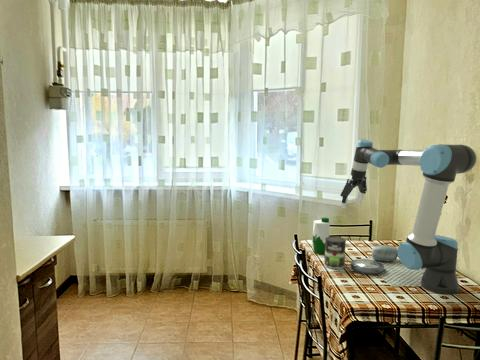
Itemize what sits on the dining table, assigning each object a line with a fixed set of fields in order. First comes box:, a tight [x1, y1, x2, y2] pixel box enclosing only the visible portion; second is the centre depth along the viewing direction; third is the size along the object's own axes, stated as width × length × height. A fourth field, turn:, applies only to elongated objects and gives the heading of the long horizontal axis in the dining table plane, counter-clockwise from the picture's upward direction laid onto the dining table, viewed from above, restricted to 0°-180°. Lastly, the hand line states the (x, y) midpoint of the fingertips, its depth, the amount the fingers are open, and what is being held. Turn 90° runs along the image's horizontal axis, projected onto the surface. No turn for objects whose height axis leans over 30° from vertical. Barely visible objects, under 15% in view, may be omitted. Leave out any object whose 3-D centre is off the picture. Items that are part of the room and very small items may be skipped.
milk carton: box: [312, 217, 331, 255], centre depth 217 cm, size 9×9×20 cm
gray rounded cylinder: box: [371, 244, 399, 262], centre depth 204 cm, size 14×10×10 cm
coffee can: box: [323, 236, 347, 270], centre depth 195 cm, size 10×10×14 cm
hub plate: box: [350, 258, 385, 276], centre depth 190 cm, size 16×16×3 cm
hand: (350, 206), depth 204 cm, fingers open, 13 cm apart
